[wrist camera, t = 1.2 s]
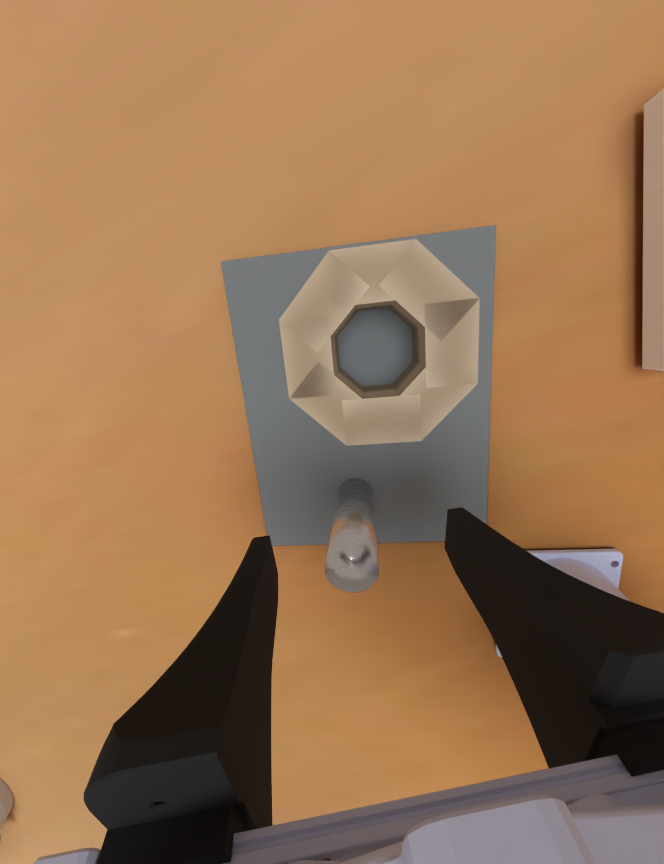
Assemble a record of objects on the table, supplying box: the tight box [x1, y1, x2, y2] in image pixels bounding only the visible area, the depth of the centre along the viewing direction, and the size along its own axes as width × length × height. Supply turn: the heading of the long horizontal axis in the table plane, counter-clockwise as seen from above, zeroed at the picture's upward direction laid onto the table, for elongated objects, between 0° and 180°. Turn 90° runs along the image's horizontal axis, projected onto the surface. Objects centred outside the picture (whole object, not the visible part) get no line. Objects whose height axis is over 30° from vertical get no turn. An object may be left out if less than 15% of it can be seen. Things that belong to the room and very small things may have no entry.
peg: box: [325, 478, 379, 593], centre depth 20 cm, size 3×3×8 cm
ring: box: [279, 239, 480, 446], centre depth 19 cm, size 10×10×4 cm
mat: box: [221, 225, 496, 546], centre depth 22 cm, size 20×16×1 cm
